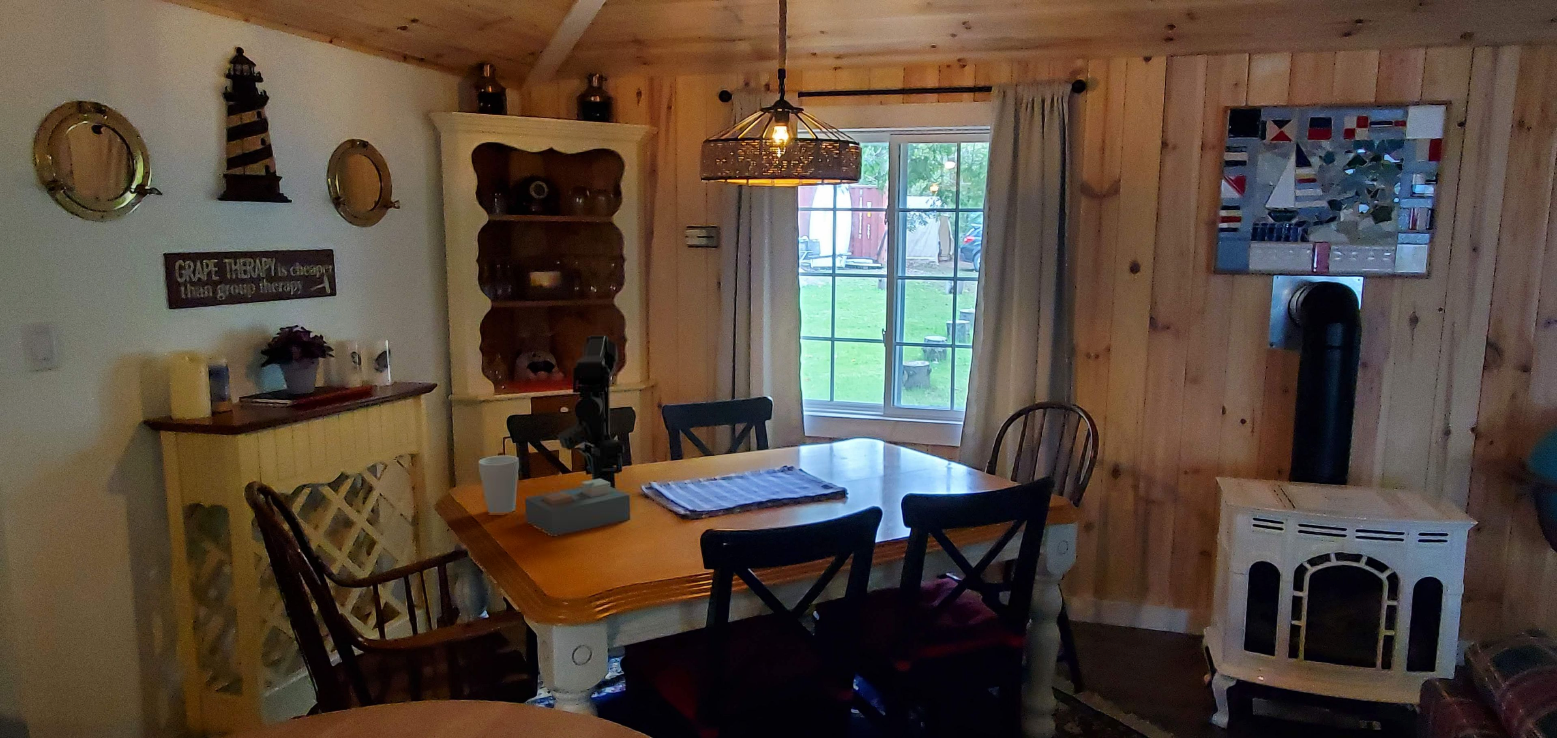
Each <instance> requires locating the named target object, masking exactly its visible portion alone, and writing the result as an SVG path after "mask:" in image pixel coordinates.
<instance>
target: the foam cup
mask: <svg viewBox="0 0 1557 738" xmlns="http://www.w3.org/2000/svg"><path fill="white" fill-rule="evenodd" d="M519 463H520V461H519V457H517V456H514V455H493V456H488V457H484V458H482V459H479V460H478V472H479V473H480V478H481V482H482V483H481V484H482V488H483V493H484V499H485V503H486V508H487V511H488V512H490V513H508V512H511V511H514V510H515V511H516V502H517V491H518V490H517V488H518V487H517V486H518V477H519V476H518V475H519V469H520V464H519ZM488 512H487V513H488Z"/></svg>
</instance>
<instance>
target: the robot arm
mask: <svg viewBox="0 0 1557 738" xmlns="http://www.w3.org/2000/svg"><path fill="white" fill-rule="evenodd" d="M608 337H609V336H606V335H605V334H604V335H603V334H602V335H598V334H597V335H590V336H587V337H586V338H587V339H586V341H585V343H584V344H583V348H582V349H583V350H582V353H583V354H582V356H583V357H580V358H579V359H578V360H577V362H576V365H574V366H573V375H572V376H573V379H572V393H573V394H574V393H575V394H579V399H578V400H577V402H576V404H575V407H574V415H575V416H576V420H575V423H576V424H575V425H573V426H570V427H568V428H567V429H566V430H563V431H561V432H560V433H558V434H557V435H556V436H557V438H558V441H559V444H560V446H561V448H562V449H565V450H567V451H571V450H573V449H575V448H576V447H577V446H579V447H577V448H576V450H577V451H579V453H581V454H582V455H583V457H584V467H585V470H584V471H585V475H586V476H587V475H591V480H595V479H603V480H605V481H608V482H610V487H612V488H615V489H616V476H615V474H620V473H623V463H622V461H623V460H622V455H621V454H624V453H625V445H624V444H623V442H622V441H620V440H618V439H614V438H613V437H612V436H611V432H610V431H611V428H610V427H611V426H610V425H611V423H610V422H611V421H610V420H611V418H610V417H611V415H610V412H611V411H610V409H611V407H610V406H611V405H610V403H611V402H610V399H611V398H610V382H611V381H610V380H611V378H612V376H613V374H614V373H615V371H616V364H617V363H618V361H619V356H618V355H619V354H618V352H619V351H618V348H617V344H616V343H615V342H613V341H612V340H610V339H609V338H608Z"/></svg>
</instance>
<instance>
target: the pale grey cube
mask: <svg viewBox="0 0 1557 738" xmlns="http://www.w3.org/2000/svg"><path fill="white" fill-rule="evenodd" d="M581 487H582V493H583V494H585V495H587V496H589V497H596V496H600V495H605V494H610V493H611V487H610V482H608V481H605V480H603V479H595V480H592V479H590V480H586V481H581Z"/></svg>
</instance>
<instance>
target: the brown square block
mask: <svg viewBox="0 0 1557 738" xmlns="http://www.w3.org/2000/svg"><path fill="white" fill-rule="evenodd" d="M543 501H544V502H546V503H548V504H550V505H552V506H553V505H558V504H562V503H567V502H572V501H573V498H572V496H571V495H569V494H566V493H564V492H559V493H554V494H549V495H544V496H543Z"/></svg>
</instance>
